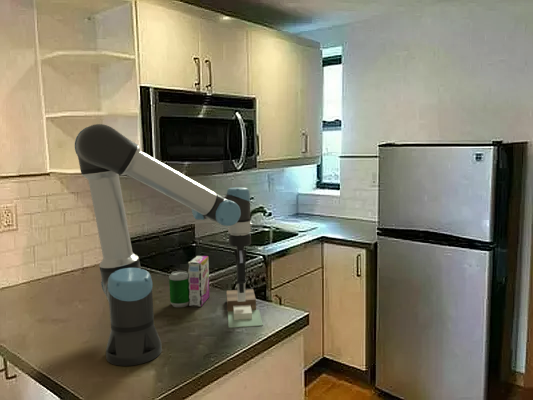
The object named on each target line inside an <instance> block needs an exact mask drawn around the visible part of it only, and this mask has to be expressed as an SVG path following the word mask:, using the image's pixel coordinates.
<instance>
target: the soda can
mask: <svg viewBox="0 0 533 400" xmlns="http://www.w3.org/2000/svg"><path fill="white" fill-rule="evenodd" d="M168 279H169V280H168V284H169V300H170V301H169V302H170V304H171V305H172V307H174V308H184V307H188V306H189V278H188V271H185V270H177V271H176V270H175V271H172V272H171V274H170V275H168Z"/></svg>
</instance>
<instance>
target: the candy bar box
mask: <svg viewBox="0 0 533 400" xmlns="http://www.w3.org/2000/svg"><path fill="white" fill-rule="evenodd" d="M209 260H210V259H209V256H208V255H196V256H195V257H193V258H192V259H191V260H190V261H188V262H187V267H188V268H187V273H188V278H189V305H188V306H189V307H197V308H198V307H203V305H204V304H205V303H206V302H207V300H208V299H209V298H210V268H209V267H210V265H209V262H210V261H209Z"/></svg>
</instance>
